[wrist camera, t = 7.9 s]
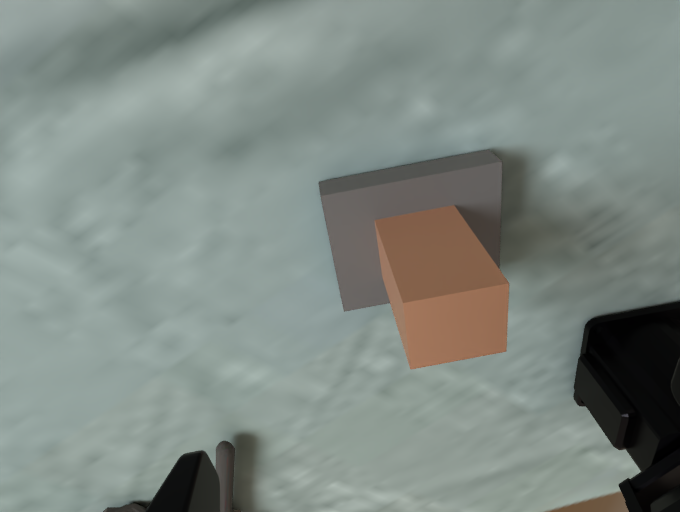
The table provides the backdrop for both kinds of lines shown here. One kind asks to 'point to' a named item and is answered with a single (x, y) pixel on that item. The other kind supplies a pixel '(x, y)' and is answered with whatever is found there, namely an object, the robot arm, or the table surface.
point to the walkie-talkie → (225, 473)
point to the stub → (425, 252)
